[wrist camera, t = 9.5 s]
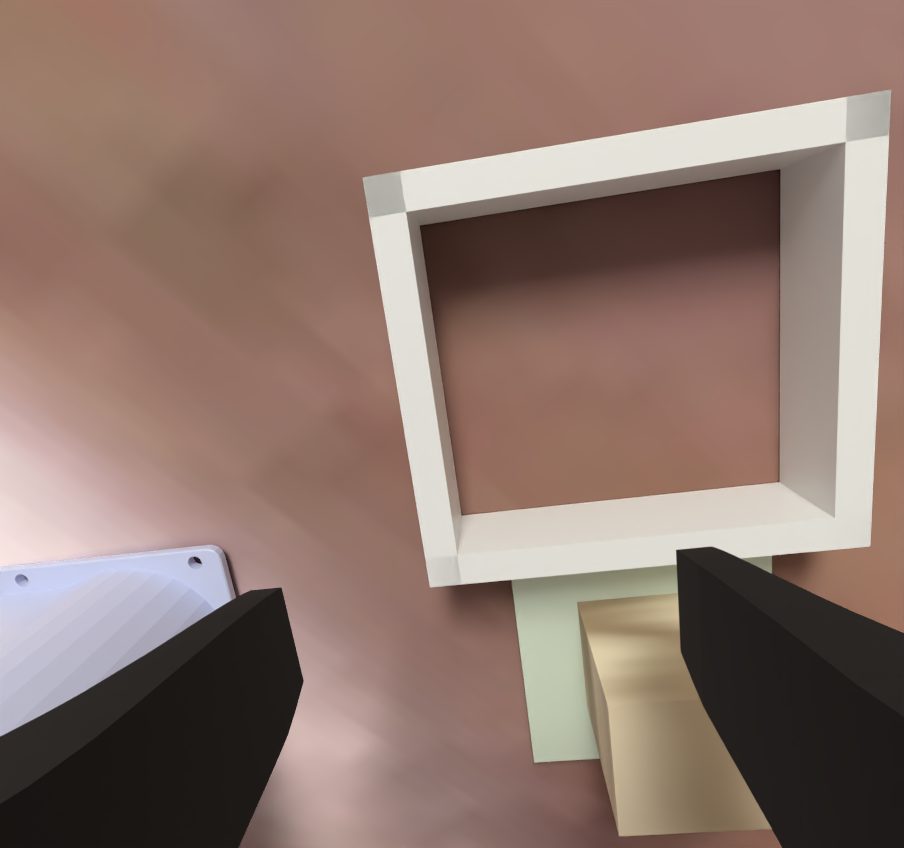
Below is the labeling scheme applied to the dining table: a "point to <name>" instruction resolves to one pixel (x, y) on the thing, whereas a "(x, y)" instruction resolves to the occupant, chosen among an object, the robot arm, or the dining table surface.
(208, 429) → the dining table surface
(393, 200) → the box
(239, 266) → the dining table surface
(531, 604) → the pad
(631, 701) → the wood block
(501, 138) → the dining table surface
